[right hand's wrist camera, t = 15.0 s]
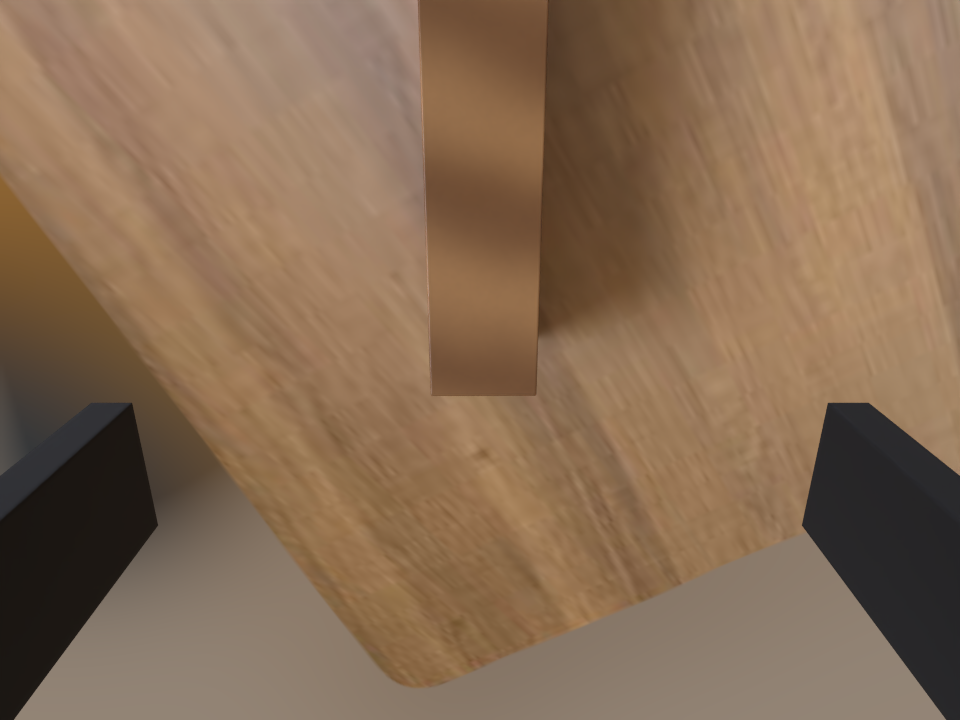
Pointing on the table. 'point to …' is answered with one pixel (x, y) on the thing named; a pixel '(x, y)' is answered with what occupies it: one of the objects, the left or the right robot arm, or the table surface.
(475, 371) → the post
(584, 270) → the table surface
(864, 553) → the right robot arm
